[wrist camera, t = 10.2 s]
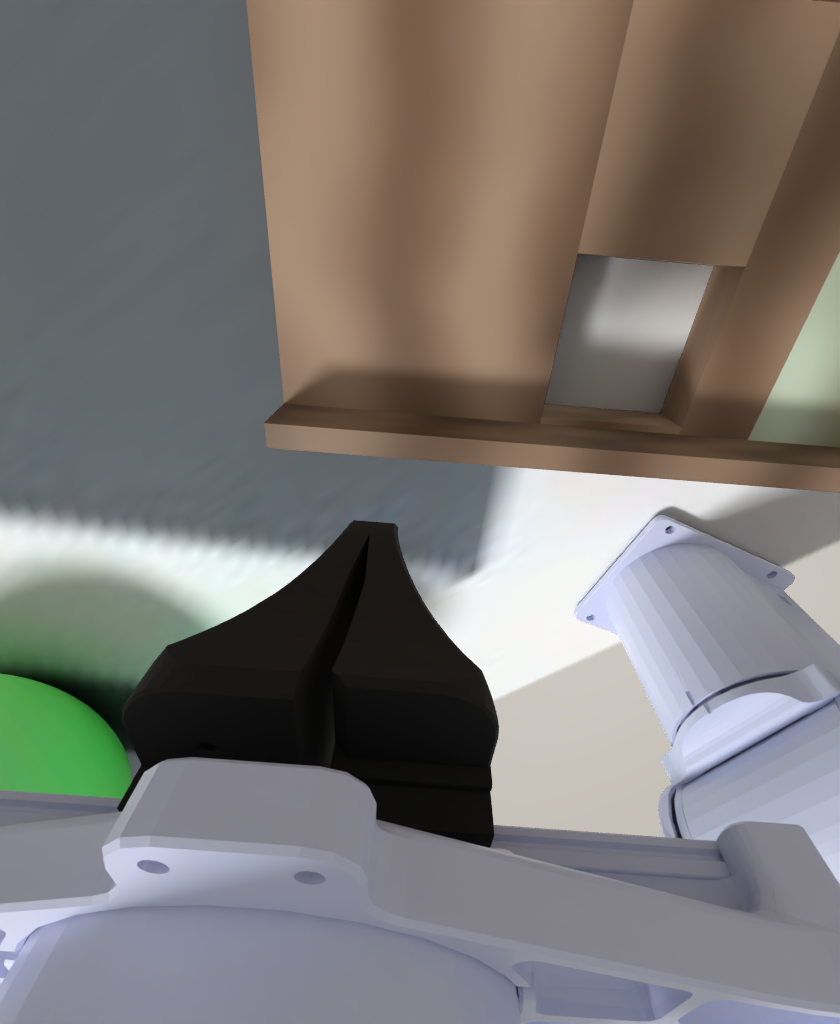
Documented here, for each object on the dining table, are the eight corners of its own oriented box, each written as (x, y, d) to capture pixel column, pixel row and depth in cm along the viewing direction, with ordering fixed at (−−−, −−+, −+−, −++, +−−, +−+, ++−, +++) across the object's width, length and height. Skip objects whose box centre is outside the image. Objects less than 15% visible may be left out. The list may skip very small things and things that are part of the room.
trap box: (1426, -369, 10) (2162, -832, 6) (875, 457, 21) (989, 509, 17) (230, -483, 10) (70, -1055, 6) (298, 411, 21) (262, 452, 16)
